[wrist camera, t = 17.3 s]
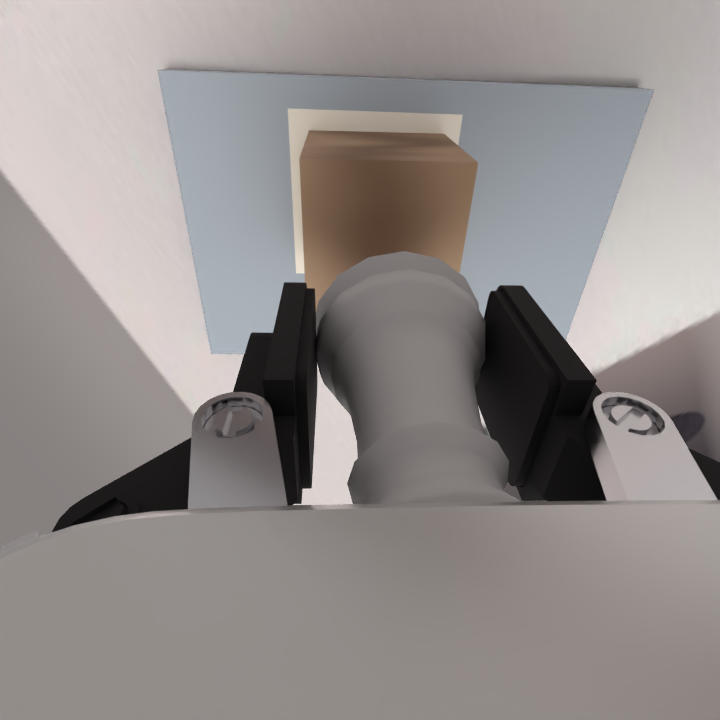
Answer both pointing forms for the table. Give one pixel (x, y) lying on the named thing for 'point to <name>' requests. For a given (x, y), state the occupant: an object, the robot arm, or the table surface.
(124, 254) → the table surface
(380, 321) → the rook chess piece
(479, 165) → the build board
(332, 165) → the walnut cube
